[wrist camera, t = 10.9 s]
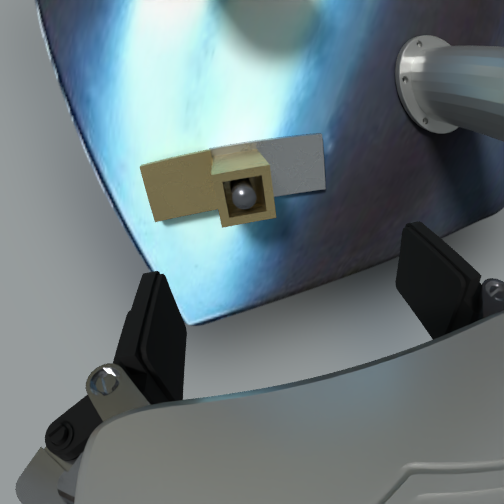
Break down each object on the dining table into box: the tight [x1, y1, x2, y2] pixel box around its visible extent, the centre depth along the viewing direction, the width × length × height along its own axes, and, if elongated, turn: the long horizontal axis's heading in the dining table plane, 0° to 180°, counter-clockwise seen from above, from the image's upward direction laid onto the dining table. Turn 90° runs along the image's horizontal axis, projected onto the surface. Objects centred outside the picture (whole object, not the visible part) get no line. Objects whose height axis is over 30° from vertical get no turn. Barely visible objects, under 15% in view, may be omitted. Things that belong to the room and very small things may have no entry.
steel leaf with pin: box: [209, 133, 325, 209], centre depth 26 cm, size 11×6×8 cm, turn 98°
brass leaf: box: [140, 149, 276, 227], centre depth 25 cm, size 11×6×7 cm, turn 98°
